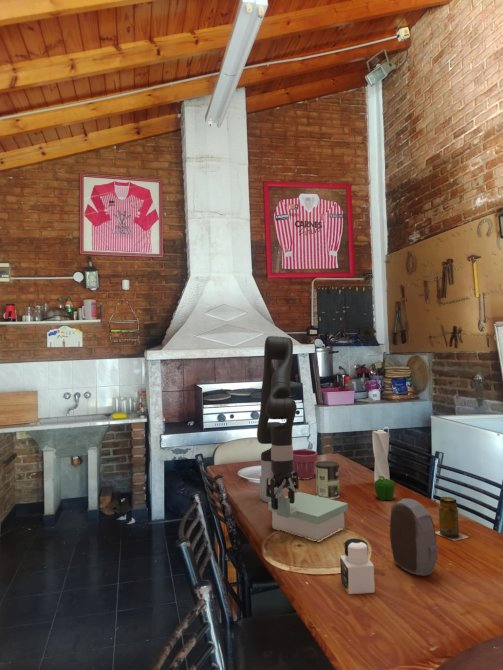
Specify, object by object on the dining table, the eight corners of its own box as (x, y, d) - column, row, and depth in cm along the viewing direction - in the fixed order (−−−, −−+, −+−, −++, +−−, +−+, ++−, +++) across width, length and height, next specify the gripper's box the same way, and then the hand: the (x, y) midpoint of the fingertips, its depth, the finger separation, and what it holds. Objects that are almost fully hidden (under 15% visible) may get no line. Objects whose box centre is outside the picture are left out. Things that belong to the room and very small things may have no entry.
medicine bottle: (340, 581, 126) (339, 536, 126) (366, 580, 126) (364, 535, 127) (348, 595, 118) (346, 547, 119) (375, 593, 119) (373, 545, 120)
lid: (258, 513, 162) (257, 492, 163) (299, 498, 179) (298, 478, 179) (308, 528, 147) (307, 505, 147) (347, 510, 164) (347, 489, 164)
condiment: (448, 529, 162) (447, 494, 162) (469, 537, 154) (467, 501, 155) (433, 533, 158) (432, 497, 159) (453, 541, 151) (452, 504, 151)
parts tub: (272, 528, 166) (272, 505, 166) (299, 516, 177) (299, 495, 178) (318, 542, 152) (317, 518, 152) (344, 529, 163) (343, 506, 164)
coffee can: (339, 492, 207) (339, 461, 208) (339, 499, 197) (338, 466, 198) (316, 492, 209) (316, 460, 210) (315, 498, 199) (314, 465, 200)
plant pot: (319, 481, 227) (319, 454, 228) (291, 481, 228) (290, 455, 228) (316, 473, 242) (315, 449, 242) (289, 474, 242) (288, 449, 242)
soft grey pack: (386, 561, 137) (384, 493, 138) (408, 556, 140) (406, 489, 141) (423, 584, 123) (421, 508, 124) (447, 577, 127) (444, 503, 128)
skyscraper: (393, 486, 215) (391, 426, 216) (389, 490, 209) (386, 428, 210) (376, 484, 219) (374, 425, 221) (371, 488, 213) (369, 427, 214)
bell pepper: (393, 496, 201) (392, 472, 201) (397, 502, 193) (396, 477, 193) (373, 495, 202) (372, 472, 202) (376, 501, 193) (375, 477, 194)
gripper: (287, 452, 164) (288, 499, 163) (259, 459, 154) (260, 509, 153) (303, 455, 159) (305, 503, 158) (276, 462, 148) (278, 514, 148)
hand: (283, 506), depth 155 cm, fingers open, 8 cm apart
